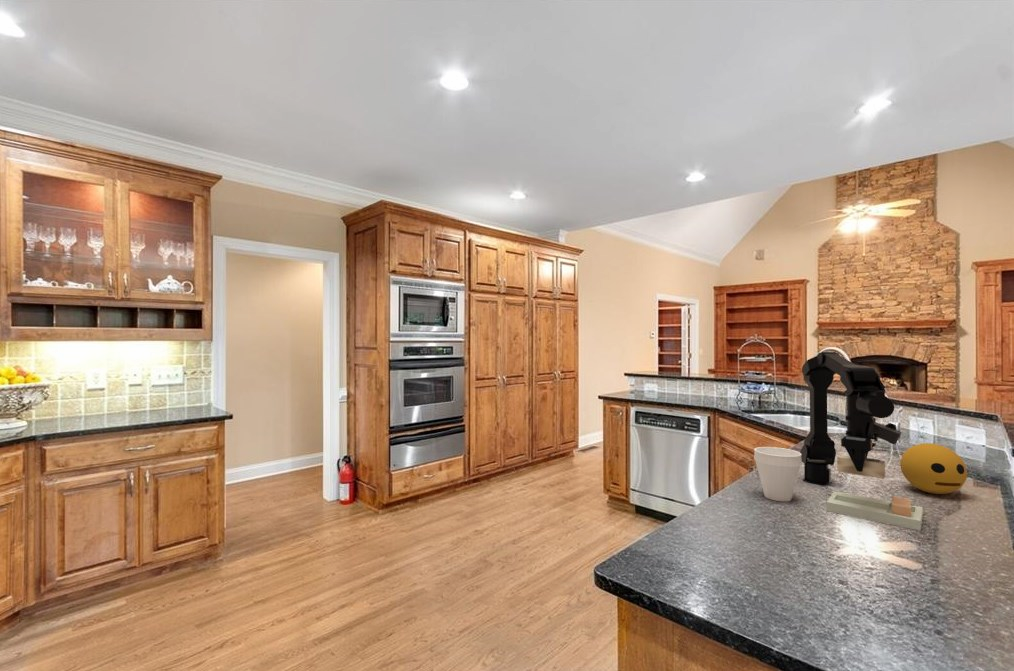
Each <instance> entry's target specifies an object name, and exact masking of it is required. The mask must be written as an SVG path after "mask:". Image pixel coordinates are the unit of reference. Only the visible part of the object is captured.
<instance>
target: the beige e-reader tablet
mask: <svg viewBox="0 0 1014 671" xmlns="http://www.w3.org/2000/svg"><path fill="white" fill-rule="evenodd" d="M836 458H837V459H836V462H837V464H836V467H837V468H836V469H837V472H838V473H844V474H845V473H846V474H851V475H857V476H863V477H868V478H869V477H870V478H875V479H876V478H877V479H883V480H884V479H885V478H886V461H885V460H881V459H876V458H869V457H867V458H865V462H864V466H863V471H862V472H859V471H857V470H856V468H855V466H854V464H853V462H852V460H851V458H850V456H849V455H842V454H839V455H838V456H837V457H836Z"/></svg>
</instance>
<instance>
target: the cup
mask: <svg viewBox="0 0 1014 671" xmlns="http://www.w3.org/2000/svg"><path fill="white" fill-rule="evenodd" d="M753 451H754V452H753V460H754V461H755V464H756V468H757V471H758V476H759V480H760V483H761V487H762V491H763V495H764V497H765V498H766V499H769V500H773V501H776V502H790V501H792V498H793V495H794V490H795V487H796V484H797V479H798V475H799V471H800V467H801V466H802V465H803V462H802V460H801V456H802V455H801V453H800V451H796V450H793V449H789V448H783V447H775V446H774V447H773V446H760V447H759V446H757V447H755V448H754V450H753Z"/></svg>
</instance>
